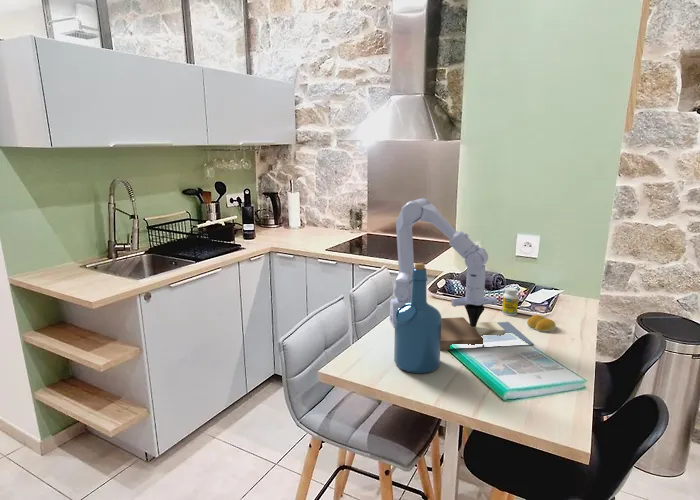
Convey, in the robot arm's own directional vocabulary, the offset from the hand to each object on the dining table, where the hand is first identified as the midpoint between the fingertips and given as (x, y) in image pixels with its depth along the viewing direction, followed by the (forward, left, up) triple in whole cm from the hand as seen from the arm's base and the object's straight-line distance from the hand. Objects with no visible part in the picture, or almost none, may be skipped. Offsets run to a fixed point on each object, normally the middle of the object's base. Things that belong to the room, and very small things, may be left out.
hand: (472, 325), depth 147 cm
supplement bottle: (+21, +18, -4) cm, 28 cm away
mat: (+8, 0, -4) cm, 9 cm away
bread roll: (+26, +4, -4) cm, 27 cm away
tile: (+5, 0, -3) cm, 6 cm away
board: (-7, 0, -4) cm, 8 cm away
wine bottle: (-23, -17, -4) cm, 29 cm away
